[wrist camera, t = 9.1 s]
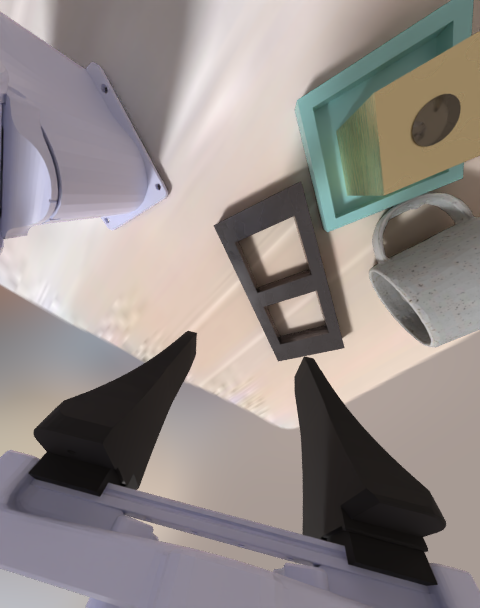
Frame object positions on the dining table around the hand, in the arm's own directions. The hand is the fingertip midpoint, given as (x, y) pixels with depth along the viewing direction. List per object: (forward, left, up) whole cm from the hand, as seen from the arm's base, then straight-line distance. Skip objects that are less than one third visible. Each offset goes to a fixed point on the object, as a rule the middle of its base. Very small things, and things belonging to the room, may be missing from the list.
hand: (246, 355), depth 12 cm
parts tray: (-8, +12, -10) cm, 18 cm away
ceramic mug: (+2, +14, -11) cm, 18 cm away
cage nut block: (-8, +12, -10) cm, 18 cm away
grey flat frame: (+1, +3, -10) cm, 11 cm away
